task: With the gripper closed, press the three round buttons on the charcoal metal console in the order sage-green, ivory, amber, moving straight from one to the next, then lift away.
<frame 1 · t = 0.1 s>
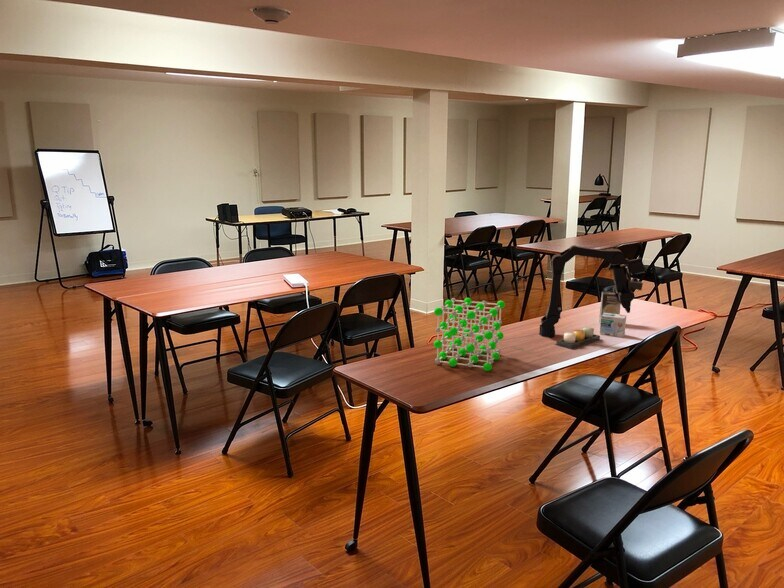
hand: (626, 310, 273), 15 cm above the table, tool pointing down, fingers open, 9 cm apart
ivory button: (569, 338, 267), point 5 cm above the table, slide at 0.0 cm
molecular structure model: (468, 360, 253), on the table
console: (578, 345, 272), on the table
sage button: (587, 332, 275), point 5 cm above the table, slide at 0.0 cm
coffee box: (608, 324, 308), on the table
light bulb box: (611, 337, 285), on the table
amber button: (578, 335, 271), point 5 cm above the table, slide at 0.0 cm
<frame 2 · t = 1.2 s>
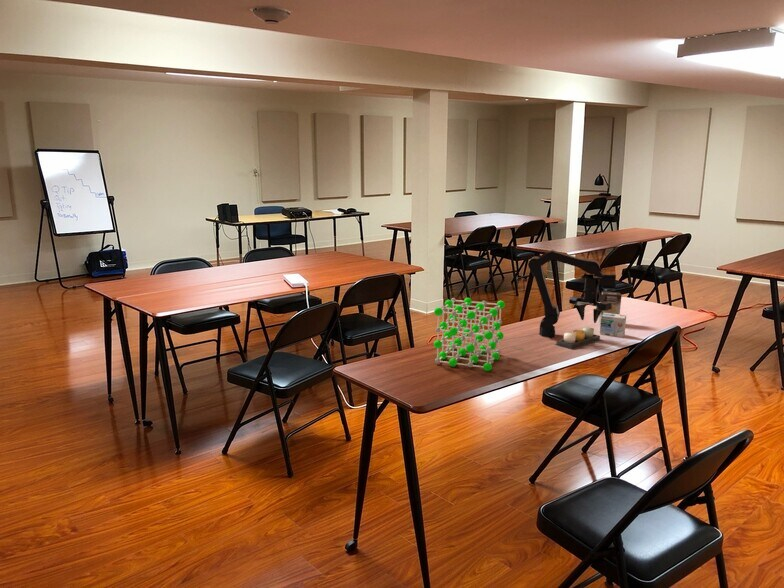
hand: (588, 321, 274), 10 cm above the table, tool pointing down, fingers open, 6 cm apart
nothing on the table moved.
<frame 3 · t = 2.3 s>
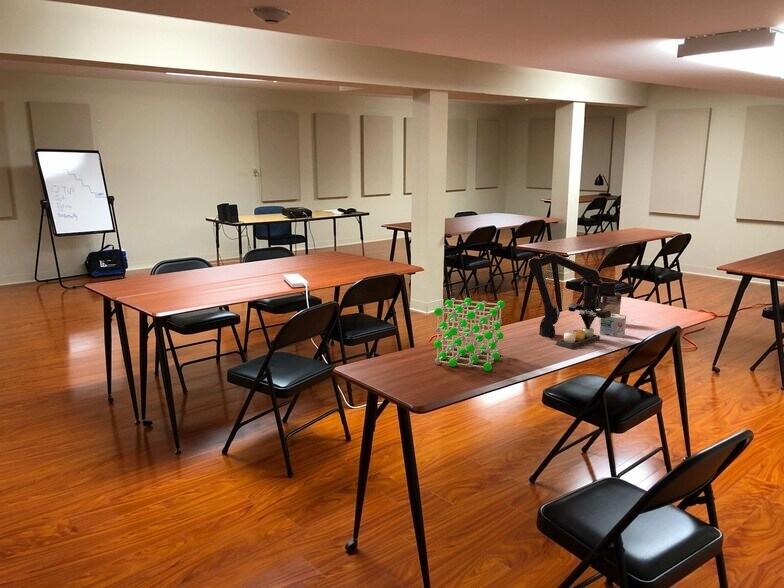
hand: (588, 329, 275), 6 cm above the table, tool pointing down, fingers closed, pressing on sage button
sage button: (587, 332, 275), point 5 cm above the table, slide at 0.2 cm, touching gripper
everything else where it was.
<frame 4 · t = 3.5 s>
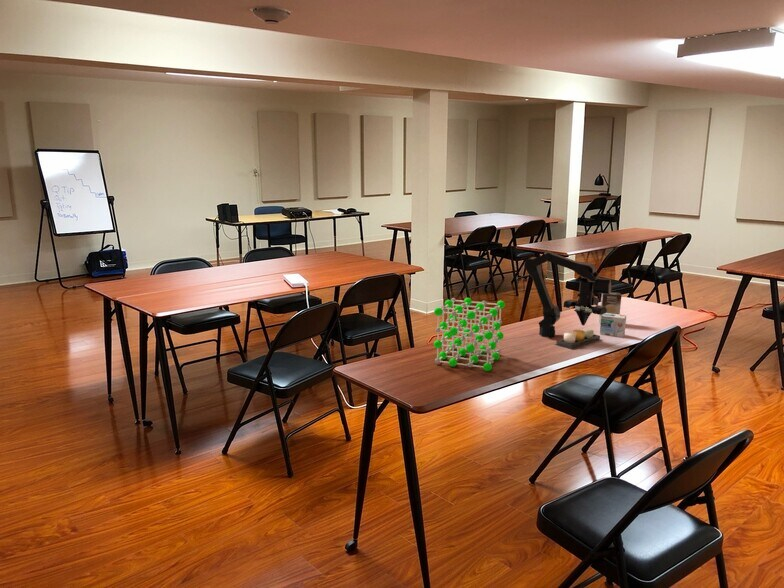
hand: (583, 325, 272), 9 cm above the table, tool pointing down, fingers closed
sage button: (587, 334, 276), point 4 cm above the table, slide at 1.0 cm
everything else where it was.
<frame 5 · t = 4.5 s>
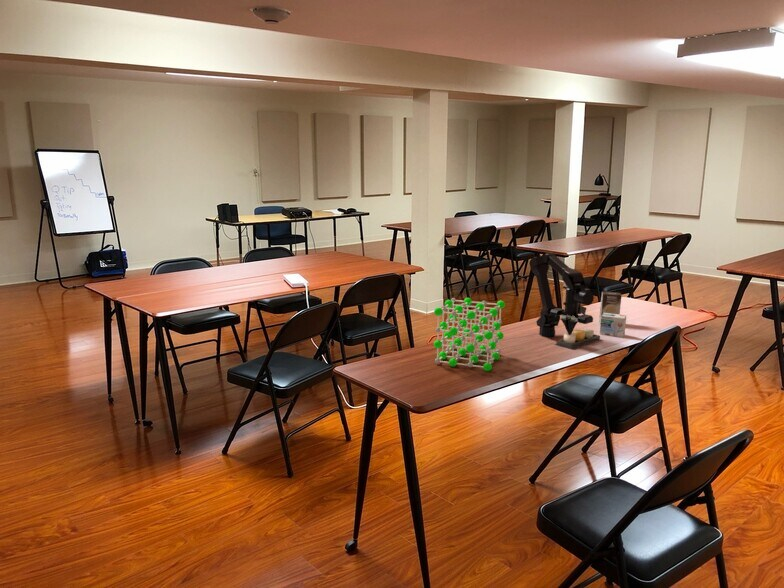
hand: (569, 334, 267), 6 cm above the table, tool pointing down, fingers closed, pressing on ivory button
ivory button: (569, 338, 267), point 5 cm above the table, slide at 0.2 cm, touching gripper
everything else where it was.
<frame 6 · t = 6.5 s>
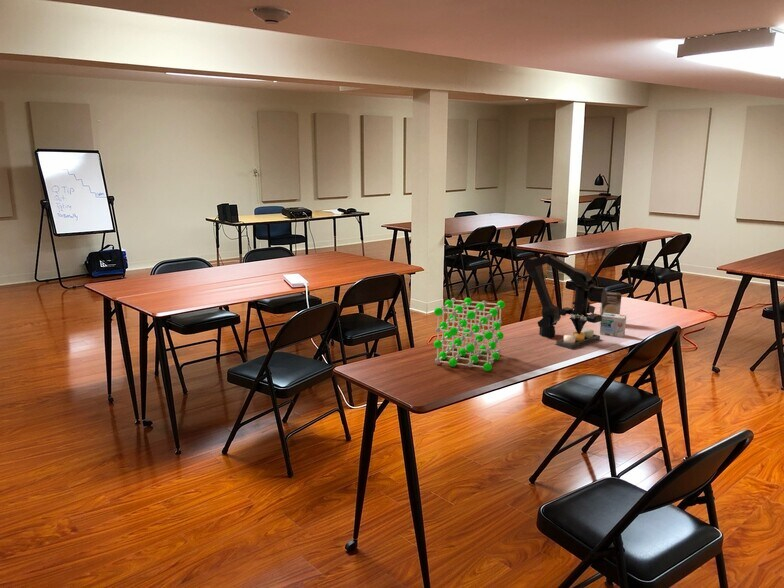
hand: (578, 333, 271), 6 cm above the table, tool pointing down, fingers closed, pressing on amber button
ivory button: (569, 340, 267), point 4 cm above the table, slide at 1.0 cm
amber button: (578, 337, 271), point 4 cm above the table, slide at 1.0 cm, touching gripper
everything else where it was.
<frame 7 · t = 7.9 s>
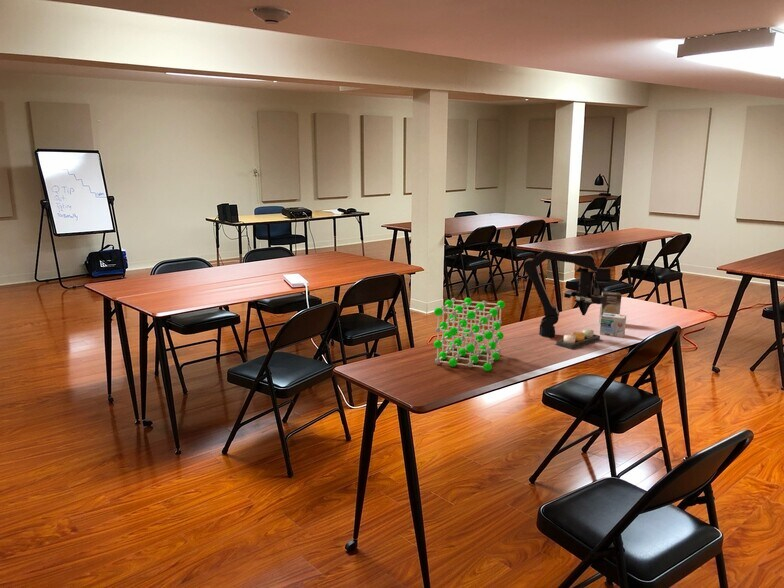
hand: (583, 315, 275), 12 cm above the table, tool pointing down, fingers closed
amber button: (578, 337, 271), point 4 cm above the table, slide at 1.0 cm
everything else where it was.
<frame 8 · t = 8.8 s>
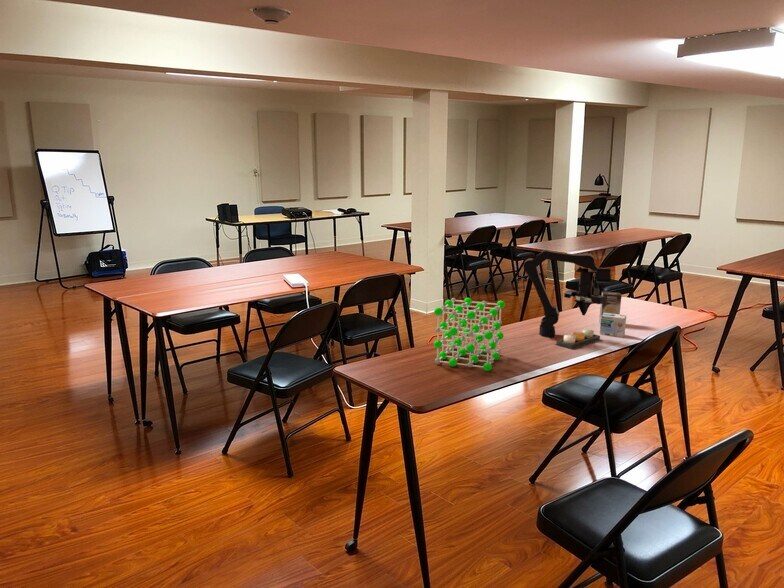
hand: (583, 315, 275), 12 cm above the table, tool pointing down, fingers closed
nothing on the table moved.
at the end: sage button slide at 1.0 cm; ivory button slide at 1.0 cm; amber button slide at 1.0 cm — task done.
